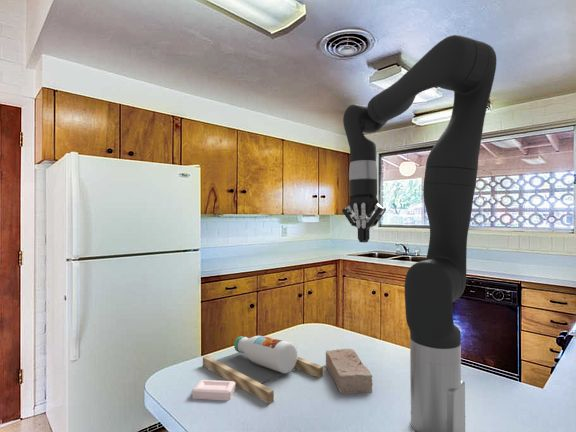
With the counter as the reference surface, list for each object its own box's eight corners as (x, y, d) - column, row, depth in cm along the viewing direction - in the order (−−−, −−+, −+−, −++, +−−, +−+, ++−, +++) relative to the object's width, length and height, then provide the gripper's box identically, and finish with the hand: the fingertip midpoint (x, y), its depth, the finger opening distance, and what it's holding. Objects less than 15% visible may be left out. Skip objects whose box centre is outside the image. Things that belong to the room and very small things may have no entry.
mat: (295, 368, 94) (295, 367, 94) (252, 388, 84) (252, 386, 84) (250, 349, 109) (250, 348, 109) (208, 363, 98) (208, 362, 98)
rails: (322, 376, 90) (322, 366, 90) (268, 403, 77) (268, 392, 77) (255, 347, 110) (255, 340, 110) (202, 365, 97) (202, 357, 97)
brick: (374, 392, 82) (374, 373, 82) (340, 395, 81) (340, 375, 81) (353, 364, 98) (353, 347, 98) (324, 365, 97) (324, 349, 97)
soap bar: (229, 402, 78) (229, 391, 78) (191, 400, 79) (191, 389, 79) (236, 390, 84) (235, 380, 84) (200, 388, 85) (200, 378, 85)
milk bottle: (275, 359, 87) (225, 344, 100) (286, 380, 89) (236, 362, 103) (291, 336, 92) (242, 325, 105) (301, 357, 94) (252, 343, 108)
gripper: (392, 177, 92) (392, 242, 91) (350, 181, 101) (351, 240, 101) (377, 175, 86) (377, 244, 86) (335, 179, 96) (335, 241, 96)
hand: (363, 242), depth 94 cm, fingers closed
